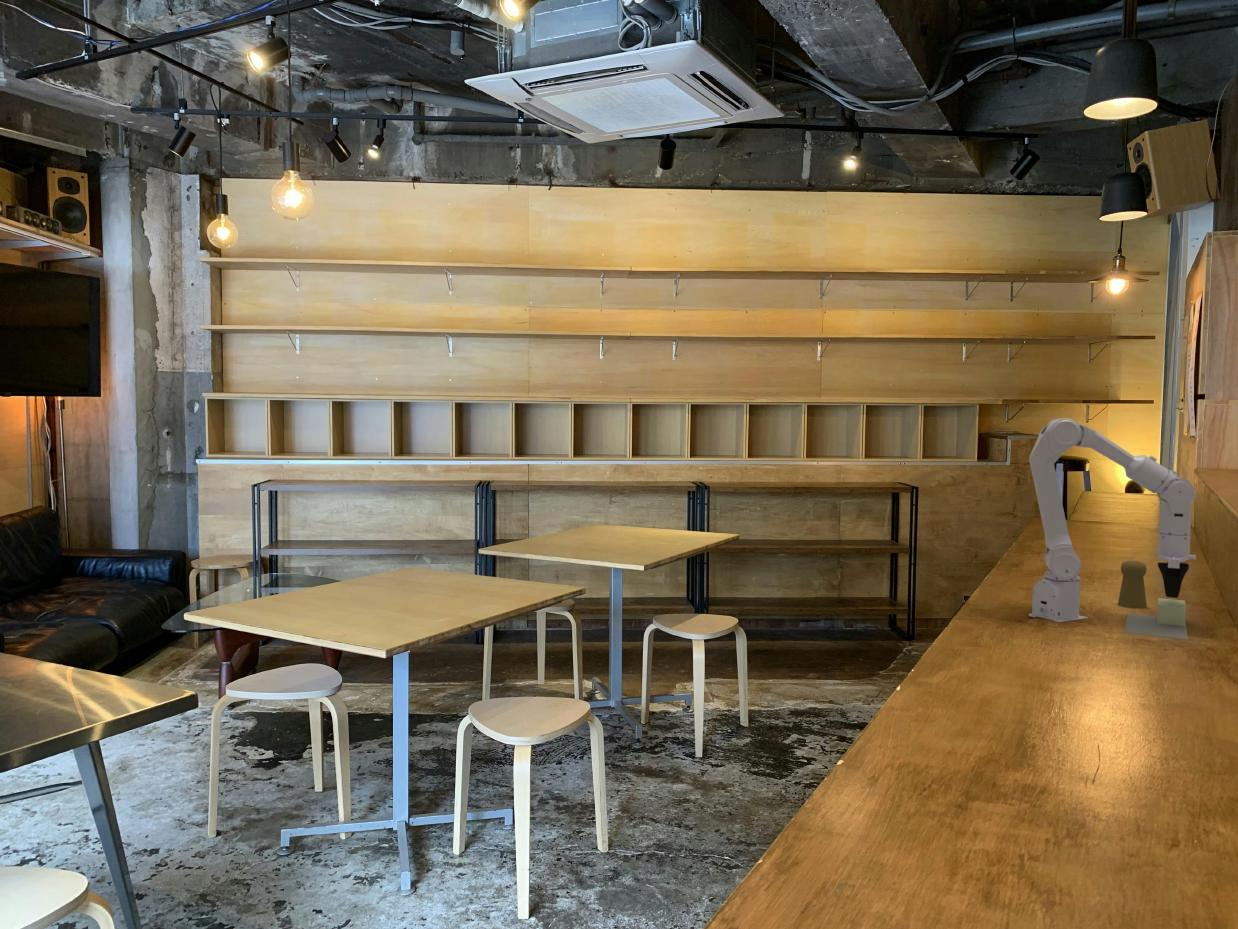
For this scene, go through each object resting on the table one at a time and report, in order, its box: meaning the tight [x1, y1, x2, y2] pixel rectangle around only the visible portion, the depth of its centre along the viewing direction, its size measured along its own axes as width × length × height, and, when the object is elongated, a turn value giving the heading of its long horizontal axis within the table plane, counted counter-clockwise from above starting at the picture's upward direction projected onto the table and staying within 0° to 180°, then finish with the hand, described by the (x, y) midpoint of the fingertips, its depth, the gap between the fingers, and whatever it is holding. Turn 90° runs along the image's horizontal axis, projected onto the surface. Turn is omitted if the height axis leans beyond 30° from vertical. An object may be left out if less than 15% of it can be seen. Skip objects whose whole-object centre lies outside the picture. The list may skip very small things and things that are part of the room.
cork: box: [1117, 560, 1148, 610], centre depth 207 cm, size 6×6×11 cm
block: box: [1157, 597, 1187, 626], centre depth 192 cm, size 4×5×8 cm
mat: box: [1123, 613, 1189, 641], centre depth 188 cm, size 20×11×1 cm, turn 149°
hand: (1171, 597), depth 190 cm, fingers closed
